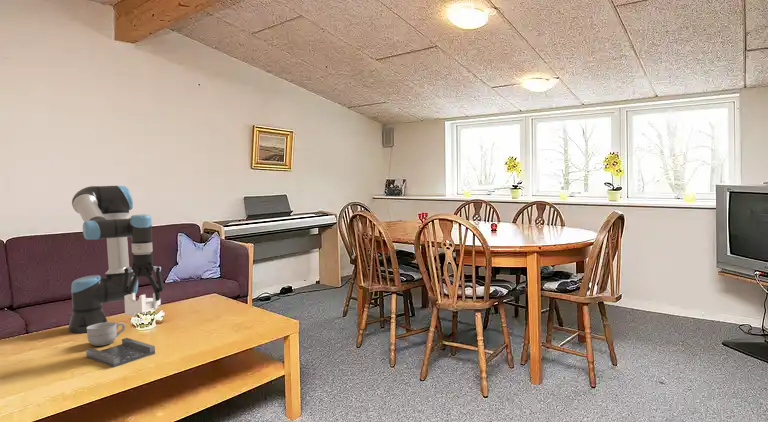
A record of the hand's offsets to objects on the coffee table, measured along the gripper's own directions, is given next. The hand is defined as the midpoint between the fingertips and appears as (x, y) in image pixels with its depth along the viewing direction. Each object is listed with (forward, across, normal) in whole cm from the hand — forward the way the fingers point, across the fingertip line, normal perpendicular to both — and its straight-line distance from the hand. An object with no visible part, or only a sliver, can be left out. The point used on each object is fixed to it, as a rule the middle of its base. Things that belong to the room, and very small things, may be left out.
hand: (144, 308), depth 200 cm
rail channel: (+15, -6, -10) cm, 19 cm away
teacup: (+16, -18, +5) cm, 24 cm away
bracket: (+1, 0, -1) cm, 1 cm away
